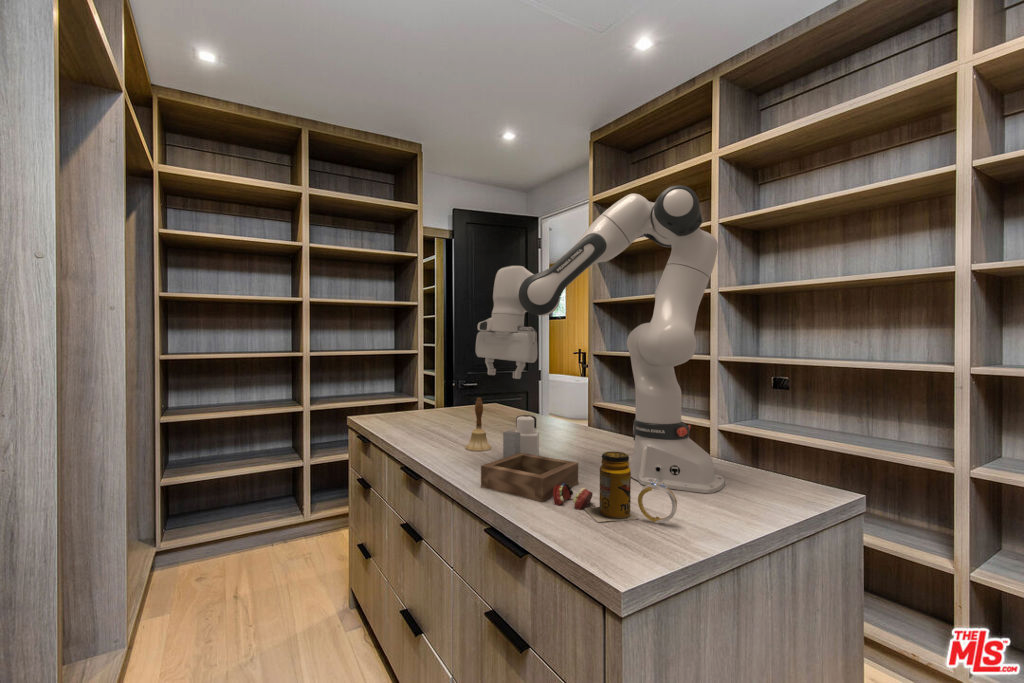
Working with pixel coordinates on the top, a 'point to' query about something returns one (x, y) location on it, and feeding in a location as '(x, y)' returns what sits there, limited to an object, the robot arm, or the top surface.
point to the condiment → (614, 489)
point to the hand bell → (478, 432)
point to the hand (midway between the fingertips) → (503, 376)
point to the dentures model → (565, 493)
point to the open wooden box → (528, 475)
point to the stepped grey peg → (511, 443)
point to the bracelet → (657, 486)
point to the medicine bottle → (528, 434)
